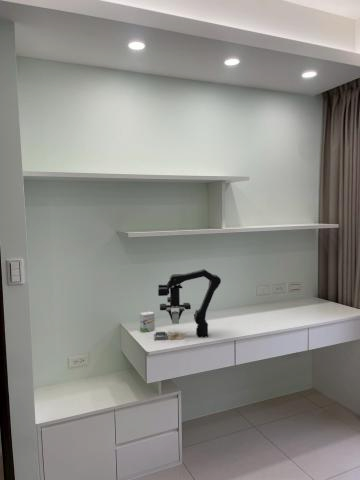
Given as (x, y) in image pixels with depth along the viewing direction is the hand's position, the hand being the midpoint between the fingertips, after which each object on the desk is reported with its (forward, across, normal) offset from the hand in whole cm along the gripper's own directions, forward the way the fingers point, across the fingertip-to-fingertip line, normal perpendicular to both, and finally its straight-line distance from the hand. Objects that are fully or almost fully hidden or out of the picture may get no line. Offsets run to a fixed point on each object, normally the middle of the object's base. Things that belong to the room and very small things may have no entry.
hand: (175, 320), depth 228 cm
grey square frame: (+10, +9, 0) cm, 14 cm away
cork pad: (+10, 0, 0) cm, 11 cm away
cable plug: (+2, 0, 0) cm, 2 cm away
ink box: (+11, +17, -14) cm, 25 cm away
